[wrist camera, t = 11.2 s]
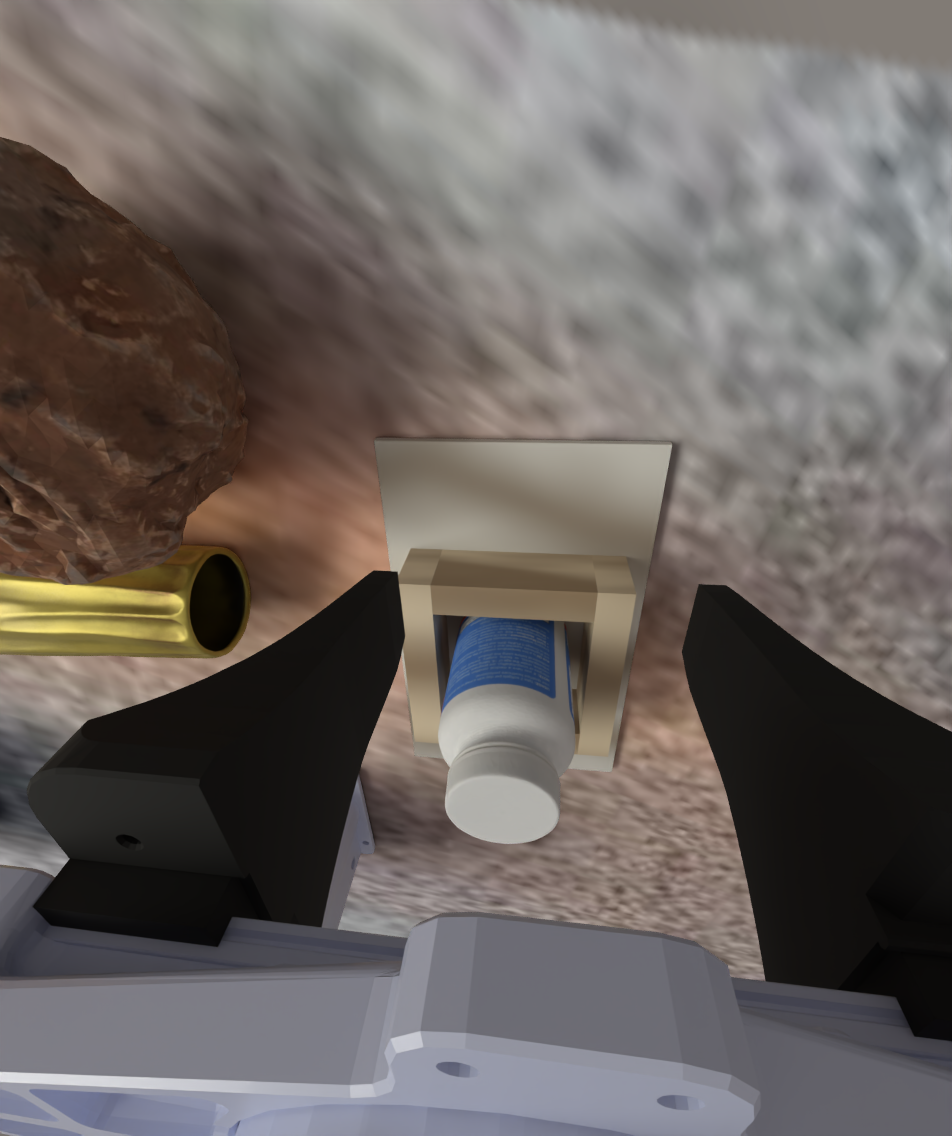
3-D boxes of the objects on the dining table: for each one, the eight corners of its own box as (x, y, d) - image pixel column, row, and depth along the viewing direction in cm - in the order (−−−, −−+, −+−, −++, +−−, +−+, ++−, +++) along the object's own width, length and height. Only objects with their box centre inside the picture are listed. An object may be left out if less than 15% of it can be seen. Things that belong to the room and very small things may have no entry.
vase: (6, 647, 28) (254, 656, 27) (-136, 669, 22) (177, 681, 21) (9, 537, 28) (257, 541, 27) (-133, 528, 22) (181, 532, 21)
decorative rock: (1, 94, 17) (-552, -68, 8) (323, 255, 18) (131, 256, 10) (26, 444, 24) (-262, 551, 15) (258, 542, 25) (113, 689, 17)
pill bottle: (438, 619, 26) (389, 791, 17) (524, 566, 23) (514, 736, 15) (504, 685, 28) (487, 869, 19) (589, 643, 25) (611, 830, 17)
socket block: (610, 766, 31) (617, 819, 28) (416, 750, 32) (403, 799, 29) (670, 441, 20) (691, 472, 17) (376, 437, 21) (350, 466, 19)
